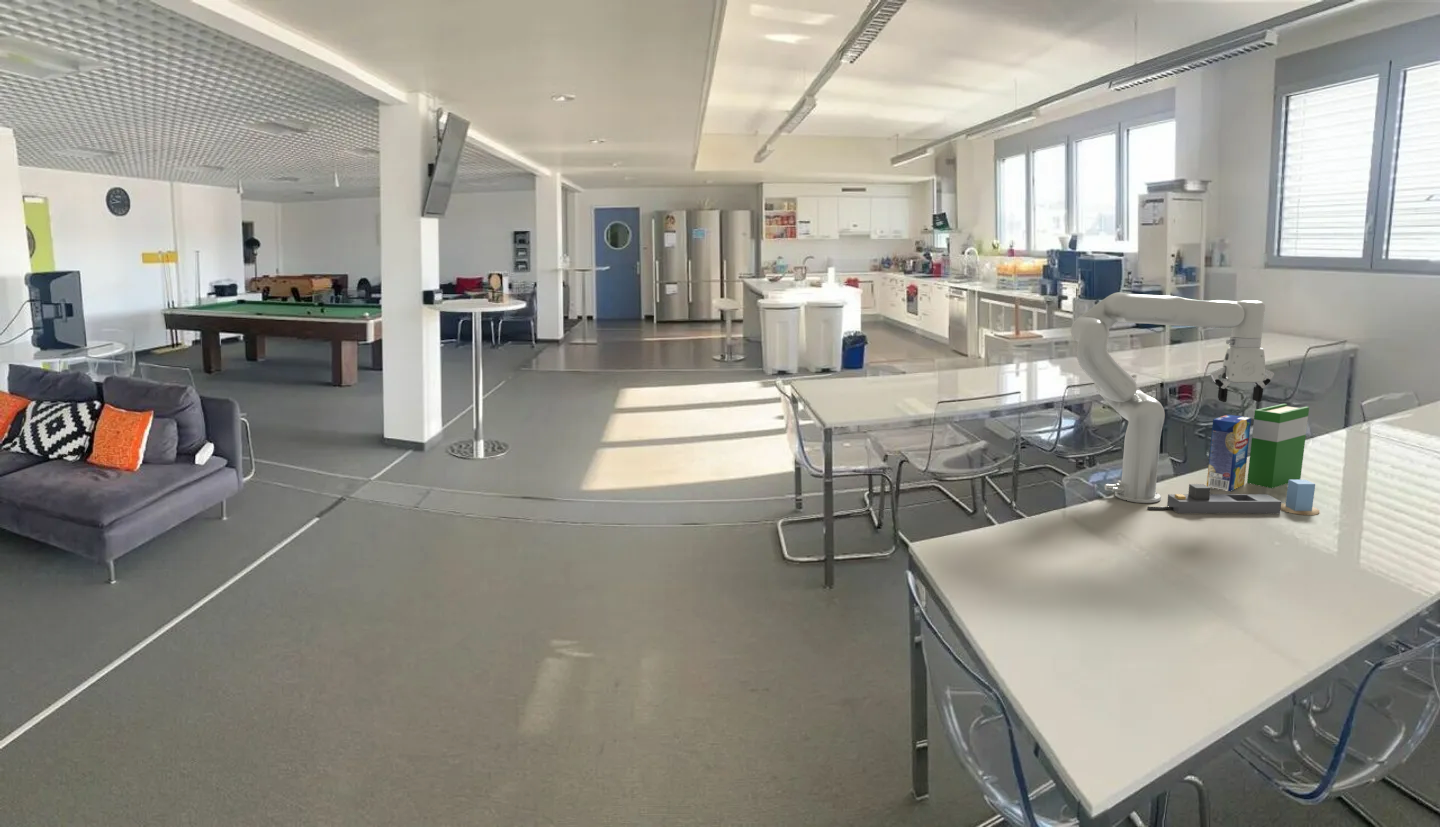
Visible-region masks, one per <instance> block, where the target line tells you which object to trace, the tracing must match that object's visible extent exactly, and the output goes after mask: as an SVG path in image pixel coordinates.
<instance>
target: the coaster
mask: <svg viewBox="0 0 1440 827" xmlns="http://www.w3.org/2000/svg"><path fill="white" fill-rule="evenodd" d="M1285 505H1286V502H1281V510H1280V511H1282V512H1284V511H1285V512H1284V513H1288V512H1289V514H1292V513H1293V514H1292V515H1299V516H1316V515H1319V514H1320V512H1321V511H1320V509H1318V508H1316V507H1314V506H1312V511H1294V510H1292V509H1290V508H1288V507H1287V506H1285Z"/></svg>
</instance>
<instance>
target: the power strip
mask: <svg viewBox="0 0 1440 827" xmlns="http://www.w3.org/2000/svg"><path fill="white" fill-rule="evenodd" d="M1211 489H1212V488H1210V487H1208V486H1207V484H1204V483H1189V485H1188V494H1186V493H1184V494H1182V493H1174V494H1173V493H1171V494H1170V493H1169V494H1168V493H1167V504H1166V506H1147V507H1146V509H1147V510H1148V511H1163V510H1162V509H1165V510H1164V511H1174V512H1175V511H1176V512H1175V513H1177V514H1178V513H1253V514H1254V515H1255V514H1256V513H1263V515H1265V514H1266V515H1267V514H1268V513H1272V514H1273V513H1274V515H1275V514H1276V513H1278V515H1279V514H1281V511H1282V510H1281V504H1282V501H1281V500H1280V499H1278V498H1276V497H1273V496H1272V495H1270V494H1267V493H1264V494H1263V493H1262V494H1260V493H1259V494H1257V493H1256V494H1255V493H1253V494H1251V493H1250V494H1249V493H1246V494H1245V493H1244V494H1242V493H1234V494H1233V493H1232V494H1231V493H1230V494H1228V493H1224V494H1222V493H1221V494H1220V493H1217V494H1216V493H1214V494H1213V493H1212V494H1211ZM1168 506H1169V507H1168ZM1159 509H1160V510H1159ZM1166 509H1168V510H1166ZM1253 514H1252V515H1253ZM1256 515H1257V514H1256Z"/></svg>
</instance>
